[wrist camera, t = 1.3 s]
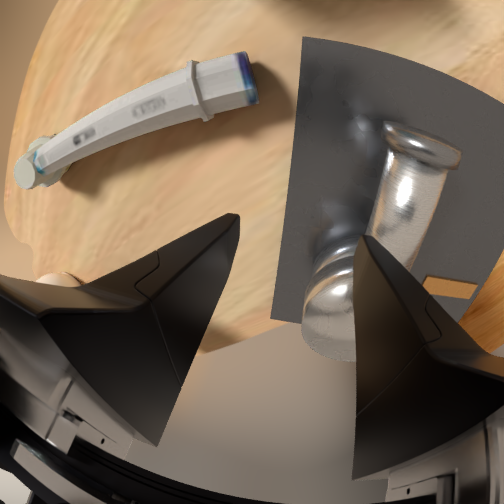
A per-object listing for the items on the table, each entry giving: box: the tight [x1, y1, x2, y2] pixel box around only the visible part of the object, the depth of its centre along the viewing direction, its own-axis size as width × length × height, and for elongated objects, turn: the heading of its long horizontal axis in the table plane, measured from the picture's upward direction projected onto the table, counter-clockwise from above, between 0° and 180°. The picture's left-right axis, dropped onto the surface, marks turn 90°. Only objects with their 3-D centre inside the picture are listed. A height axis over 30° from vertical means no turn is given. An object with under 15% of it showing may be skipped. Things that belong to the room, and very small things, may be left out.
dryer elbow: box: [302, 121, 463, 362], centre depth 17 cm, size 18×9×5 cm, turn 177°
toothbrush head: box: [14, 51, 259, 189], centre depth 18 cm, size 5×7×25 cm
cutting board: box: [270, 37, 504, 324], centre depth 19 cm, size 26×22×4 cm
